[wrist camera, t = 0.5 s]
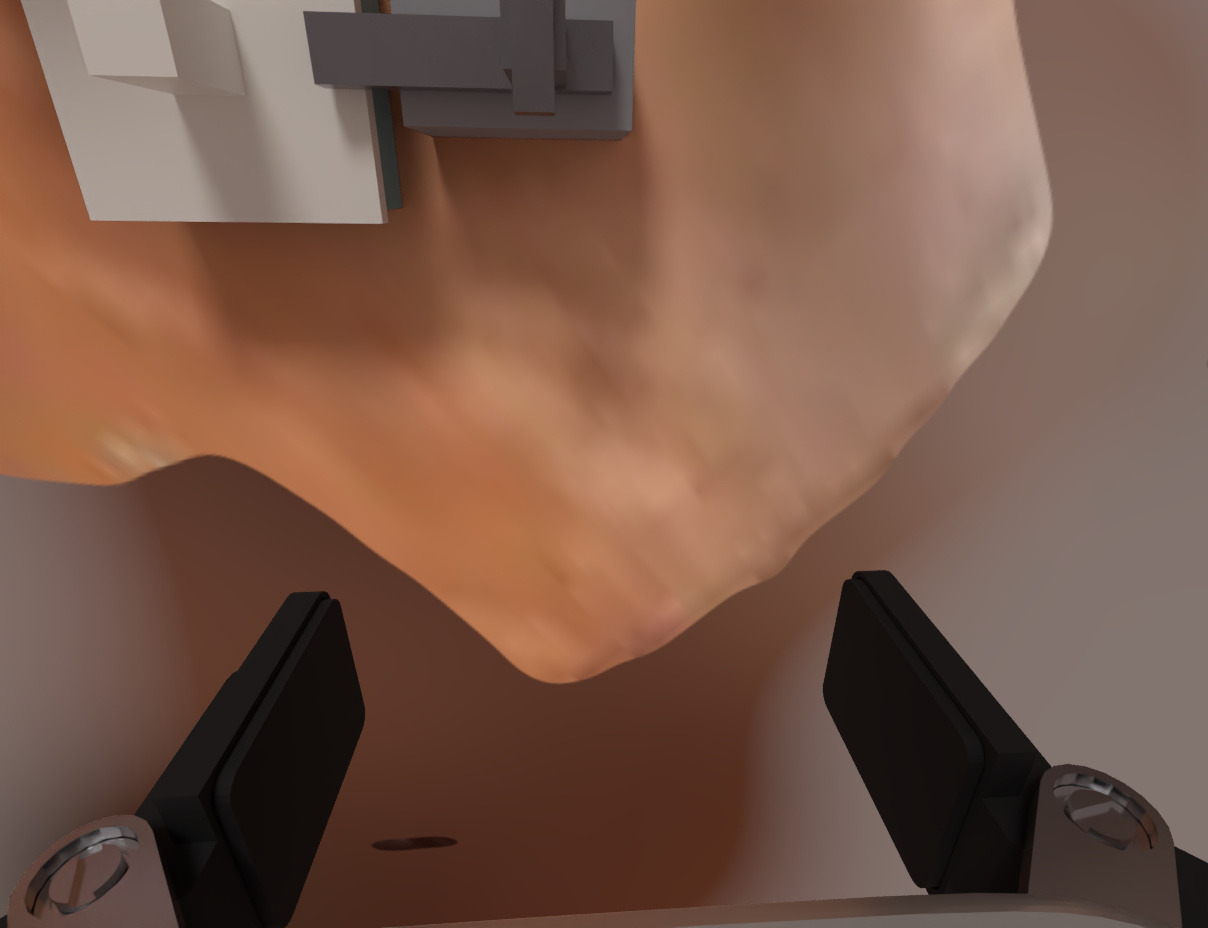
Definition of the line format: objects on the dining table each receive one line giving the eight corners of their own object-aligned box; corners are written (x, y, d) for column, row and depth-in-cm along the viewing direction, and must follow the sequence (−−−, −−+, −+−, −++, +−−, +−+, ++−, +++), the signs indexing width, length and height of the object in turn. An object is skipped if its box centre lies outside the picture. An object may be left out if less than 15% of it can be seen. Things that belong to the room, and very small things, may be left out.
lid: (-8, -152, 23) (-189, -257, 17) (343, -136, 24) (275, -232, 18) (105, 219, 28) (-5, 227, 23) (388, 222, 29) (347, 231, 24)
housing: (102, -81, 28) (-17, -149, 22) (625, -61, 29) (639, -120, 23) (176, 204, 33) (95, 208, 27) (619, 210, 34) (629, 215, 28)
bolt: (308, -22, 24) (225, -89, 18) (612, -11, 24) (626, -73, 19) (330, 123, 26) (262, 105, 20) (609, 129, 27) (621, 114, 21)
